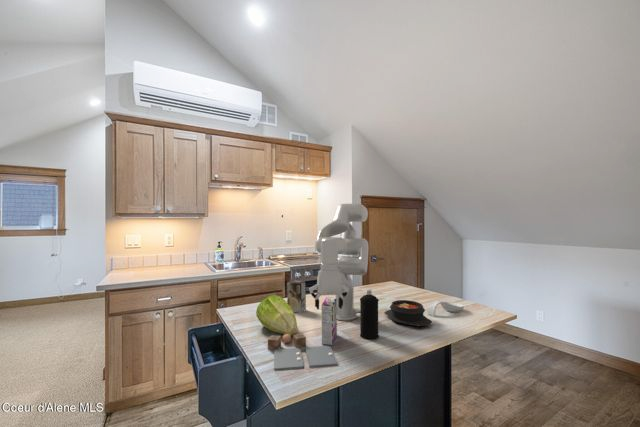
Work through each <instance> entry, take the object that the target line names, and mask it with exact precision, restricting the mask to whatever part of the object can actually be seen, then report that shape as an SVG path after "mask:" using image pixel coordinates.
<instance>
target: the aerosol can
mask: <svg viewBox="0 0 640 427" xmlns="http://www.w3.org/2000/svg"><path fill="white" fill-rule="evenodd" d="M359 302H360V304H359V305H360V308H359V309H360V313H359V314H360V316H359V317H360V319H359V320H360V322H359V324H360V328H359V329H360V332H359V333H360V334H359V336H360V338H361V339H365V340H370V341H373V340H377V339H379V337H380V335H379V302H380V300H379V299H378V297H376V295H374V294H372V289H366V294H363V296H361V297H360V299H359Z"/></svg>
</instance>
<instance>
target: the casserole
mask: <svg viewBox="0 0 640 427" xmlns="http://www.w3.org/2000/svg"><path fill="white" fill-rule="evenodd" d="M425 311H426V309H425V308H424V305H423V304H422V303H420V302H418V301H413V300H408V299H398V300H397V299H396V300H394V301H392V302H391V305H390V306H389V309H387V310H386V311H384V312H383V313H384V314H385V315H386V316H387V317H388V318H389V319H391V320H392V321H394V322H397V323H399V324H403V325H408V326H409V325H410V326H415V327H425V326H429V325H431V324H432V323H433V320H431V319H430V318H428V317H427V316H425V314H424V313H425Z"/></svg>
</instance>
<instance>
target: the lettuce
mask: <svg viewBox="0 0 640 427" xmlns="http://www.w3.org/2000/svg"><path fill="white" fill-rule="evenodd" d="M255 314H256V317H257V319H258V321H259V322H260V324H261V325H262V326H263V327H265V329H267V330H269V331H271V332H274V333H276V334H280V335H283V336H284V335H285V334H289V335H290V336H293V335H296V334H295V333H297V331H298V330H297V329H298V322H297V318H296V315H295V312H293V311H292V309H291V307H290V306H289V304H288V303H287V301H286V300H285V299H284V298H283V297H282V296H280V295H277V294H271V295H268V296H267V297H266V298H265V297H264V299H262V300H261V301H260V303H259V304H258V306H257V307H256V312H255Z"/></svg>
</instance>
